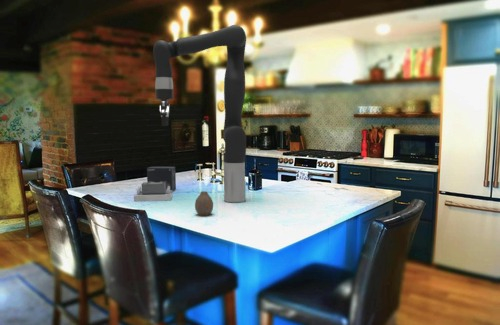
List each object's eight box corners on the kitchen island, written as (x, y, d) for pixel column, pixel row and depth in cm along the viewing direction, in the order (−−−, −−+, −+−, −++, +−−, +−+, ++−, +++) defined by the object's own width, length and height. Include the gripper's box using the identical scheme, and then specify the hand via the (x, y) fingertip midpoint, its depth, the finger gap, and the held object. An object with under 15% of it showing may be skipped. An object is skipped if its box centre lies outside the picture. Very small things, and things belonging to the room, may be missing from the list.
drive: (165, 194, 186) (165, 181, 186) (164, 197, 181) (164, 183, 180) (143, 195, 185) (143, 182, 185) (141, 197, 180) (141, 184, 179)
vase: (204, 211, 157) (204, 189, 156) (217, 214, 153) (216, 191, 152) (191, 214, 152) (190, 192, 151) (204, 217, 148) (203, 194, 147)
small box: (176, 189, 206) (176, 166, 204) (172, 192, 199) (172, 168, 198) (151, 189, 207) (150, 166, 206) (146, 191, 200) (146, 167, 199)
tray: (172, 195, 190) (172, 185, 189) (171, 200, 179) (170, 189, 178) (137, 196, 187) (137, 185, 187) (134, 201, 177) (133, 190, 176)
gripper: (172, 87, 168) (172, 126, 170) (173, 89, 182) (174, 125, 184) (153, 87, 167) (154, 126, 169) (157, 89, 181) (157, 125, 183)
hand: (165, 125), depth 176 cm, fingers open, 8 cm apart
